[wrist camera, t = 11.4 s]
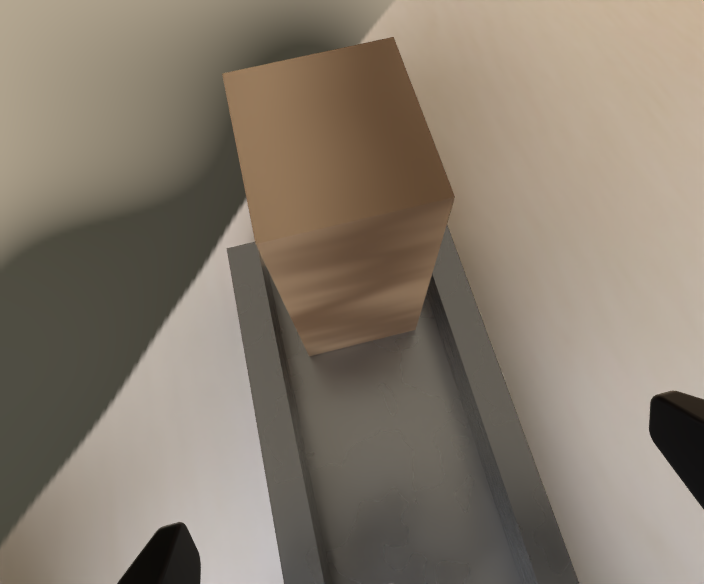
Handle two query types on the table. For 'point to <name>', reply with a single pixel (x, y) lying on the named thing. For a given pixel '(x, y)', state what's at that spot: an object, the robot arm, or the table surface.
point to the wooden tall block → (341, 190)
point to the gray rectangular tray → (395, 446)
